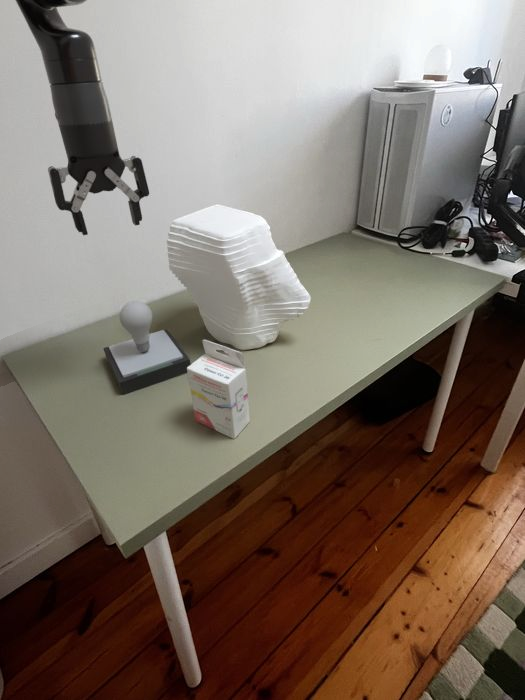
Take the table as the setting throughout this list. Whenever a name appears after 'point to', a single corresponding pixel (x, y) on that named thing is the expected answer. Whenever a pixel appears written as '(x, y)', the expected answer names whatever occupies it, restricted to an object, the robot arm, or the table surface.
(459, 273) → the table surface
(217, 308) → the white layered head sculpture
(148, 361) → the scale
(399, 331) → the table surface
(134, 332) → the lightbulb
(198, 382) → the ink cartridge box
